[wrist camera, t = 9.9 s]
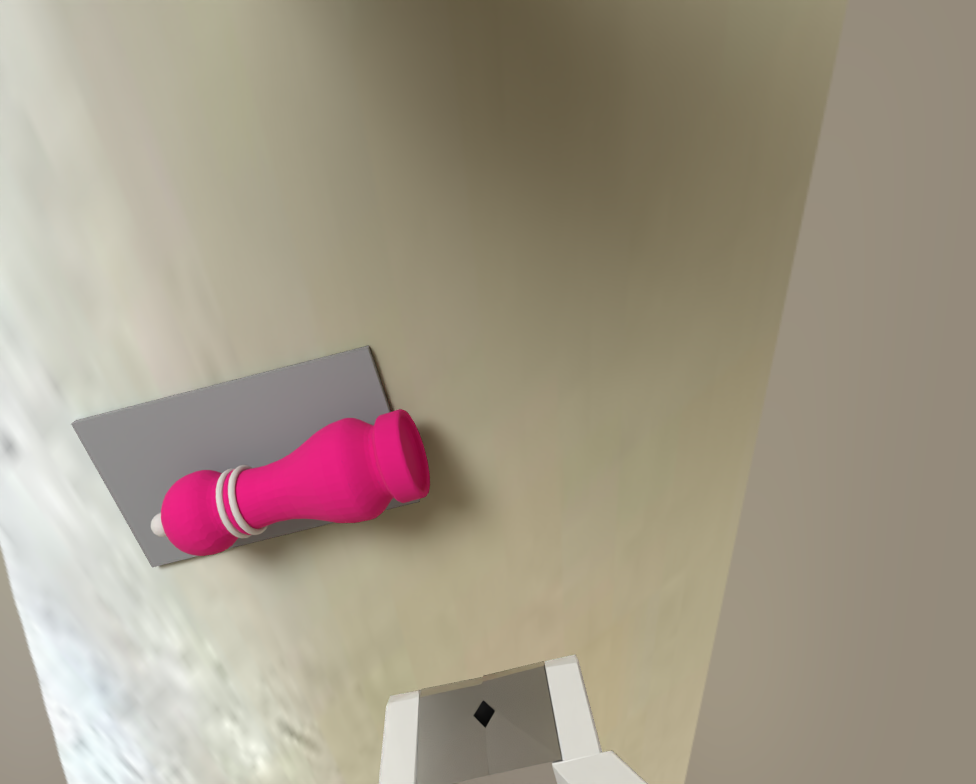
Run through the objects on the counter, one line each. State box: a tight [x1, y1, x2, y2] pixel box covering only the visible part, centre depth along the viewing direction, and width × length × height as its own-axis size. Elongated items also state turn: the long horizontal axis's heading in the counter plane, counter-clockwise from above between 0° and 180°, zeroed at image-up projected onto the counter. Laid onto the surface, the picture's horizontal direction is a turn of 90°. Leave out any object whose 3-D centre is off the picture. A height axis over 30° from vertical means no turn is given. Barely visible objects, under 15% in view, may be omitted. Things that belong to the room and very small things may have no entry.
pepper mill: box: [151, 409, 430, 556], centre depth 43 cm, size 7×7×20 cm
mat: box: [72, 346, 420, 567], centre depth 46 cm, size 22×13×1 cm, turn 104°
